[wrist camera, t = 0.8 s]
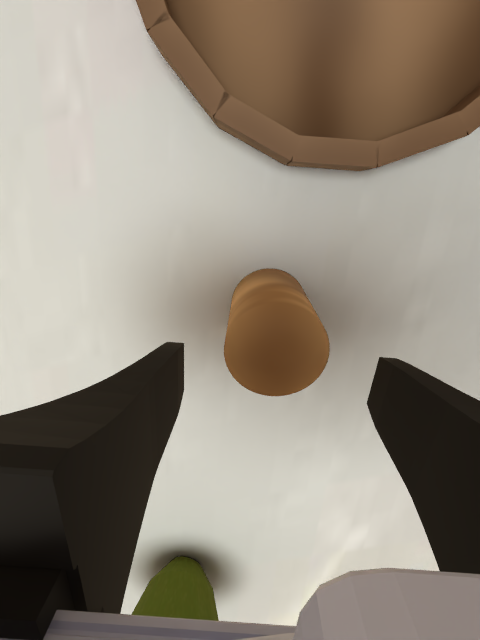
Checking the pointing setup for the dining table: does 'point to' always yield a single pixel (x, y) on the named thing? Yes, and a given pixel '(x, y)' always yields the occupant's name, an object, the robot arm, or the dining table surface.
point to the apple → (179, 593)
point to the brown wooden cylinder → (274, 335)
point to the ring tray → (327, 73)
